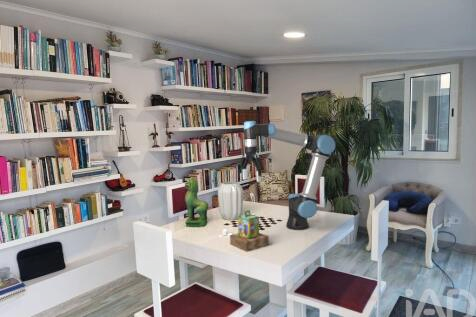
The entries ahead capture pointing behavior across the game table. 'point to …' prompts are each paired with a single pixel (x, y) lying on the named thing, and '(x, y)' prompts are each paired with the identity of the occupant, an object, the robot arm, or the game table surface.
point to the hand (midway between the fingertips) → (251, 180)
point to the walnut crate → (249, 242)
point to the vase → (230, 200)
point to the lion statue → (195, 205)
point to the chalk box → (248, 225)
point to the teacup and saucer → (225, 233)
